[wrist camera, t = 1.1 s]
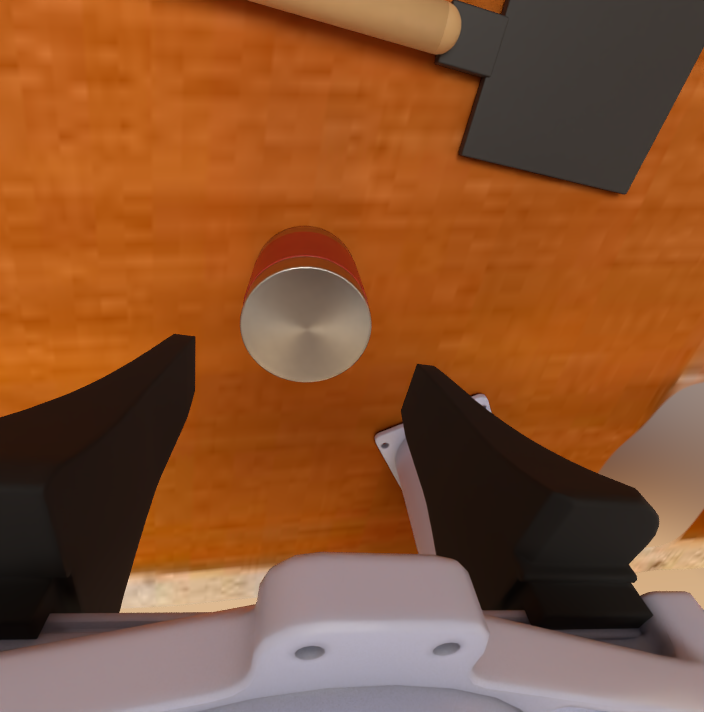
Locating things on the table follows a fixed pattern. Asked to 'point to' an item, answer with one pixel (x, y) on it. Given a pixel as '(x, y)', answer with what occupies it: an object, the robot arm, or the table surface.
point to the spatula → (547, 73)
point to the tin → (305, 307)
